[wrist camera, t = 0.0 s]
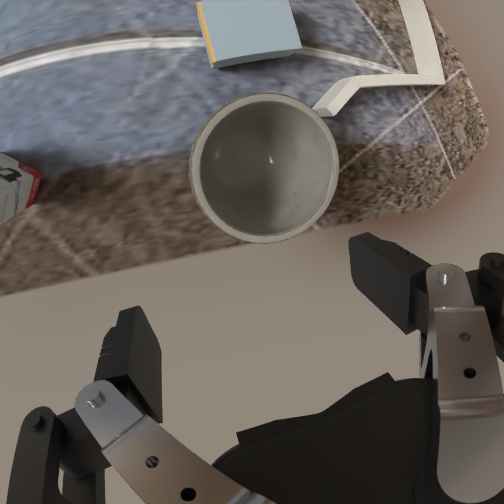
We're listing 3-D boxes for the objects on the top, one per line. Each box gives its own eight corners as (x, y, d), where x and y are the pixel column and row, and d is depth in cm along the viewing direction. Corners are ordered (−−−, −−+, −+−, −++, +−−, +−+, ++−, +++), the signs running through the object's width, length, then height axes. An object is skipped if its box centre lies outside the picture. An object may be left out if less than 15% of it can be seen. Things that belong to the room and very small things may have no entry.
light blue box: (194, 17, 29) (197, 1, 24) (271, 6, 31) (285, -9, 26) (208, 71, 33) (213, 62, 28) (286, 58, 34) (302, 48, 29)
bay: (267, -41, 27) (277, -56, 23) (393, -29, 30) (408, -37, 26) (312, 118, 38) (328, 117, 34) (429, 104, 40) (448, 104, 36)
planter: (278, 94, 36) (323, 79, 24) (302, 193, 41) (351, 219, 30) (171, 123, 34) (168, 116, 22) (204, 225, 40) (217, 265, 28)
